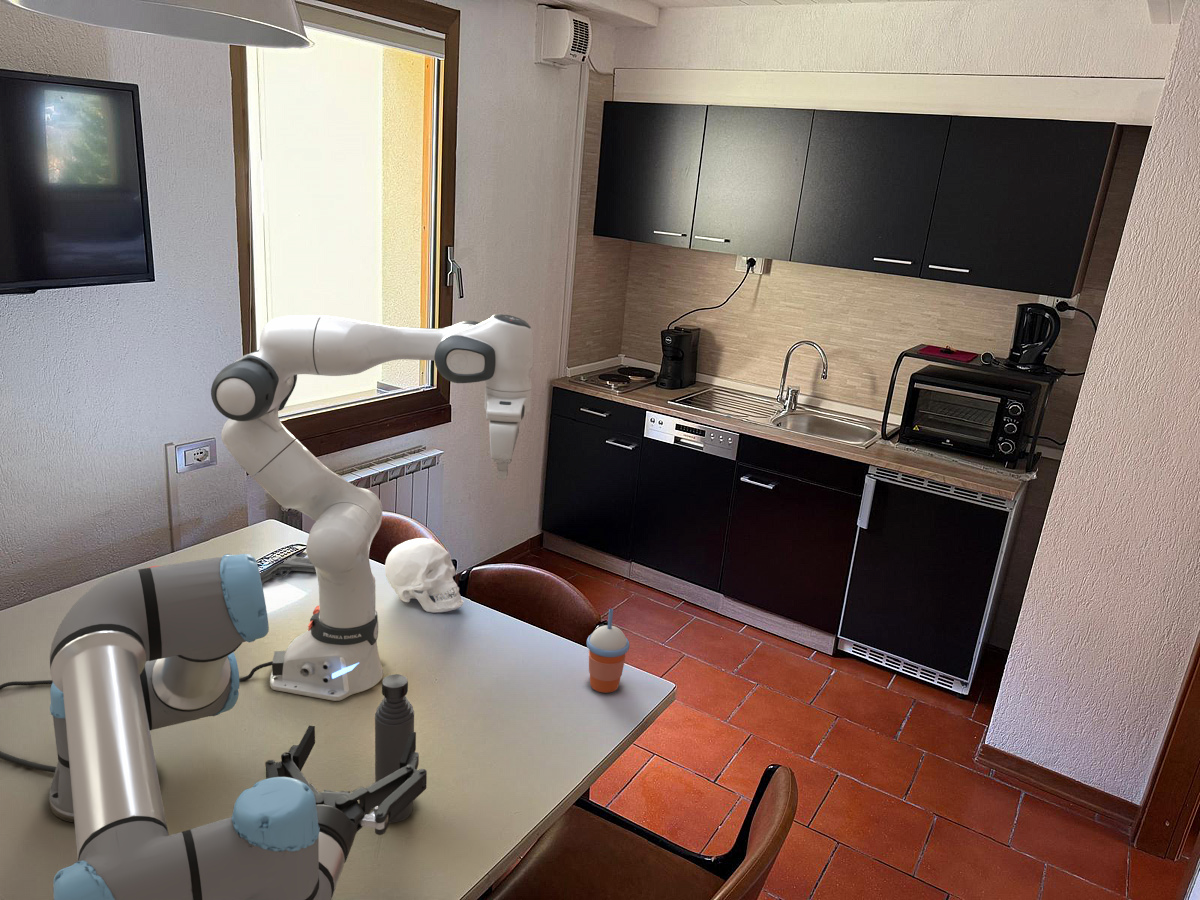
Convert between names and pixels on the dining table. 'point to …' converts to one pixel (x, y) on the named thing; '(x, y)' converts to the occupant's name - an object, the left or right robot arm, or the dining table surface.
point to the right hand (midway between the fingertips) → (504, 470)
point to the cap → (394, 686)
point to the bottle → (392, 739)
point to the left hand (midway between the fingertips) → (362, 737)
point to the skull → (423, 575)
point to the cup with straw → (606, 656)
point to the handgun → (288, 568)
